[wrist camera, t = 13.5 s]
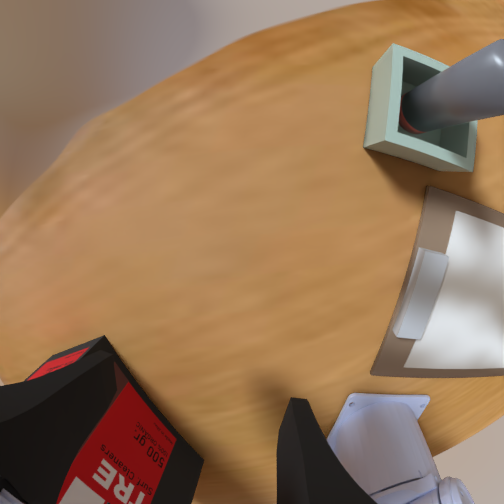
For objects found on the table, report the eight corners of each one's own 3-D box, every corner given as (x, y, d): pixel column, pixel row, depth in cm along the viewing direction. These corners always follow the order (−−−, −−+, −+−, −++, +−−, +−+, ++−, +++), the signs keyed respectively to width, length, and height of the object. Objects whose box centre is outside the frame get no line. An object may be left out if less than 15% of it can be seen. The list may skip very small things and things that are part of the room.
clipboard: (511, 372, 19) (517, 379, 17) (369, 372, 20) (373, 383, 18) (560, 241, 15) (569, 245, 14) (426, 185, 16) (436, 186, 15)
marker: (428, 139, 15) (541, 122, 5) (392, 127, 15) (495, 89, 5) (431, 102, 14) (536, 61, 4) (396, 89, 14) (489, 26, 5)
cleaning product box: (204, 460, 24) (155, 619, 5) (142, 463, 26) (84, 589, 7) (104, 335, 21) (-53, 505, 2) (52, 355, 23) (-69, 474, 4)
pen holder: (439, 171, 16) (473, 172, 12) (363, 147, 16) (384, 140, 12) (446, 94, 14) (477, 81, 10) (372, 67, 15) (393, 43, 11)
